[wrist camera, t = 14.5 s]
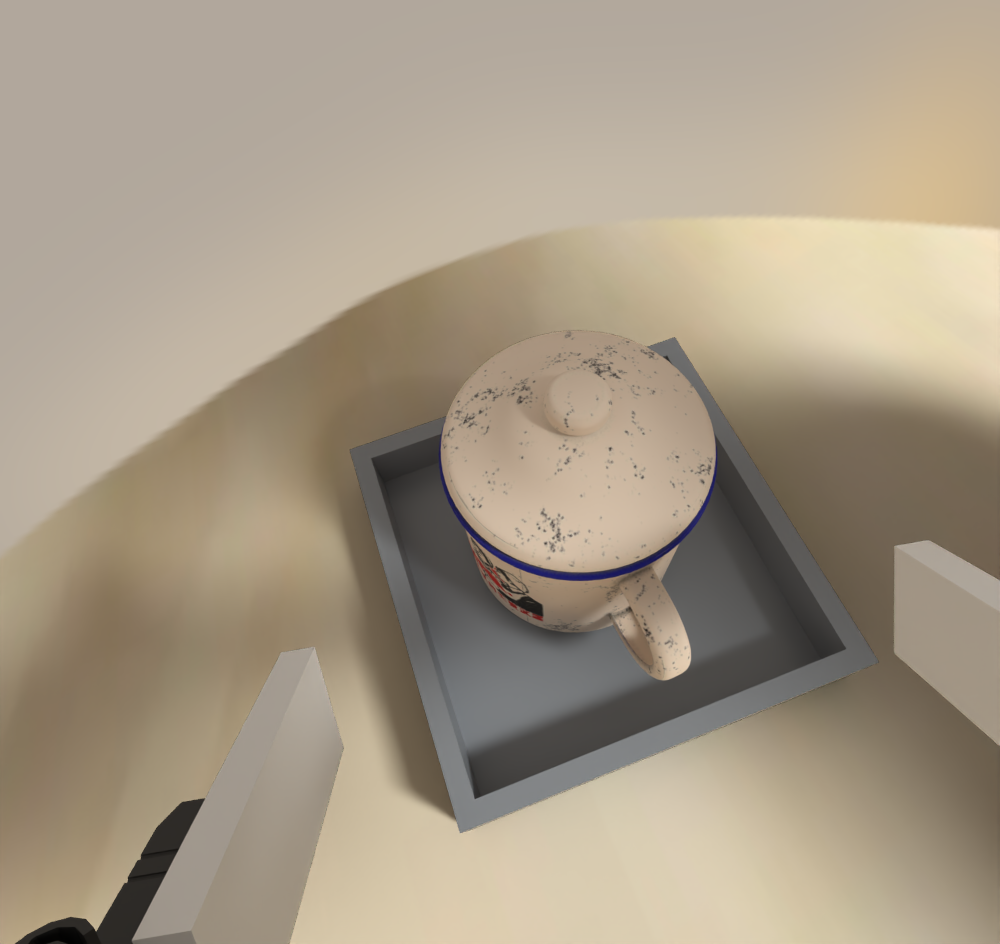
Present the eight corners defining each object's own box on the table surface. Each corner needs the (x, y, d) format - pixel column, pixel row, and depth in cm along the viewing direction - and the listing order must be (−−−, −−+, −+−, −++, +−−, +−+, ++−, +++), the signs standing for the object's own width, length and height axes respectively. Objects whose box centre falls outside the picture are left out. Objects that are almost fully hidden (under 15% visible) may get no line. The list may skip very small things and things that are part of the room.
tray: (665, 374, 33) (674, 337, 31) (846, 676, 26) (878, 662, 23) (366, 479, 32) (349, 449, 29) (470, 830, 25) (460, 833, 22)
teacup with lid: (439, 494, 30) (378, 338, 20) (612, 420, 31) (640, 234, 21) (551, 748, 25) (548, 714, 15) (754, 648, 26) (884, 551, 16)
